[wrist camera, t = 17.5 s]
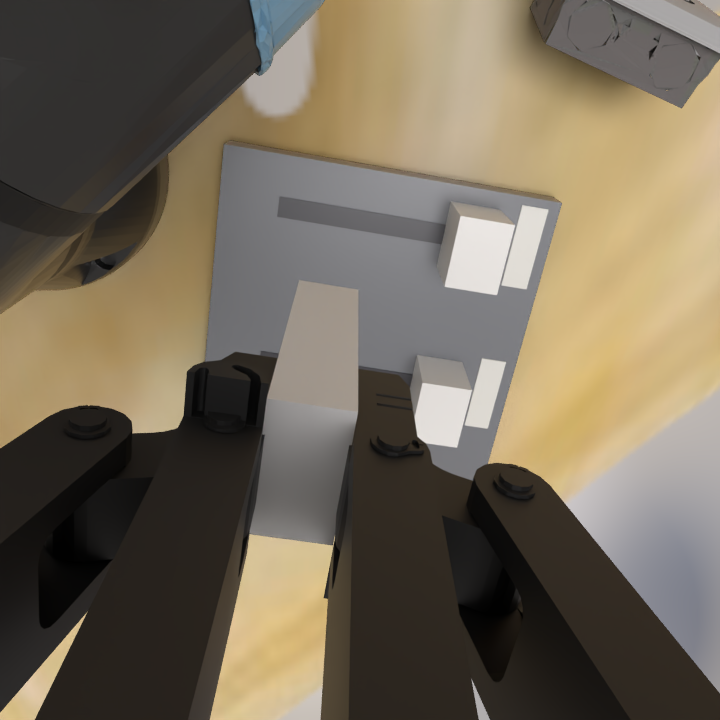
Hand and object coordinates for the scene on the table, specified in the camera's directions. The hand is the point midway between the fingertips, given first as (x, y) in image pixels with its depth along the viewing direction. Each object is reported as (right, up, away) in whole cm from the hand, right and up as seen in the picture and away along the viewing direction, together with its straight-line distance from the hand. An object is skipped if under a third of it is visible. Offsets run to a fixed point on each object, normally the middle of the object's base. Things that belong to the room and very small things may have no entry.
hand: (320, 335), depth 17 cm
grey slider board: (+1, -1, +29) cm, 29 cm away
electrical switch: (+15, +19, +21) cm, 32 cm away
